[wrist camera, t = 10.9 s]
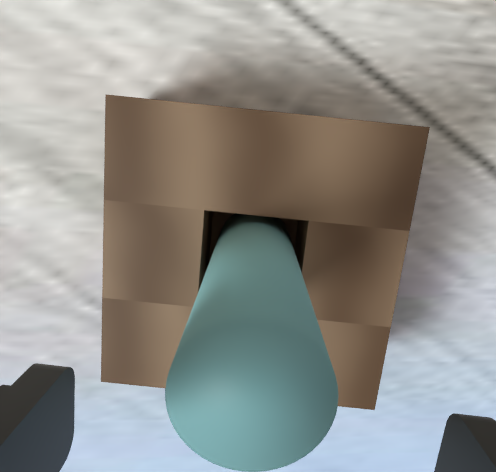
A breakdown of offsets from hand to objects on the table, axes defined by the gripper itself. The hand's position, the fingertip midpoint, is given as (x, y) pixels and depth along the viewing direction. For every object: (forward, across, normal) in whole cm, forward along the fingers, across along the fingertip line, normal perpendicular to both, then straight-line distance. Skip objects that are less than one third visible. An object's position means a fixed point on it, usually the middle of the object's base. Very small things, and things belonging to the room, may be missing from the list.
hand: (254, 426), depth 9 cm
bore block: (+17, 0, 0) cm, 17 cm away
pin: (+16, 0, 0) cm, 16 cm away
